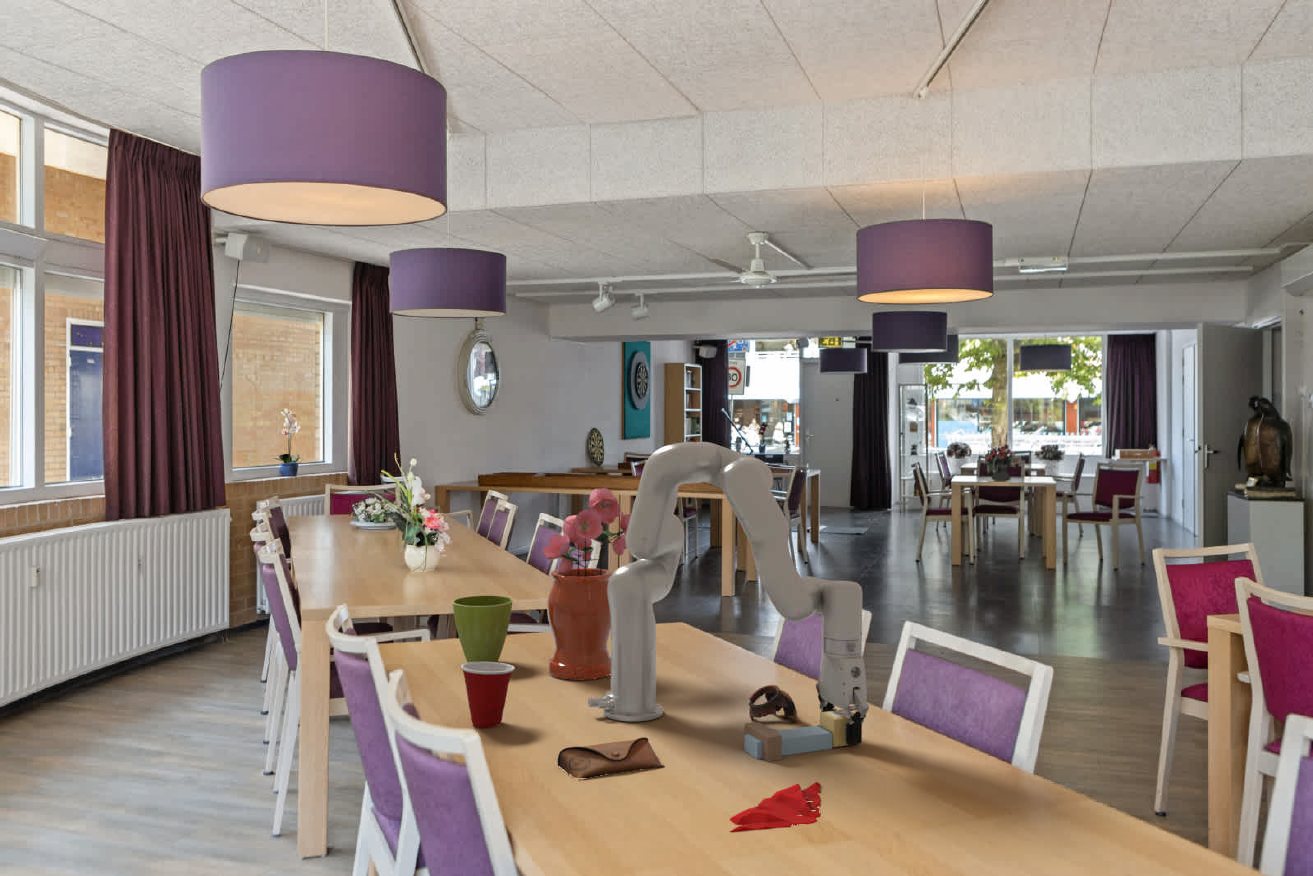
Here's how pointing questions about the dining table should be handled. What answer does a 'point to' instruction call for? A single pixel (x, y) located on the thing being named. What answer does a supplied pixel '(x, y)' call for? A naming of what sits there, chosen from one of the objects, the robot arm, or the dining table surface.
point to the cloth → (781, 810)
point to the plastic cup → (486, 691)
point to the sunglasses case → (608, 758)
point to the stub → (835, 725)
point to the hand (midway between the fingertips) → (840, 736)
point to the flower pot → (482, 626)
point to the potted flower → (583, 591)
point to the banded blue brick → (784, 741)
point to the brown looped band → (772, 703)
